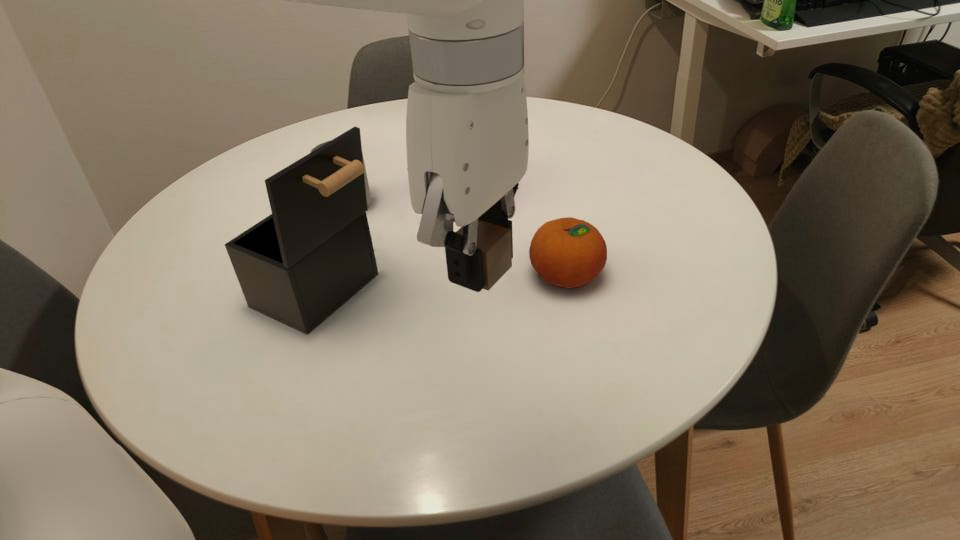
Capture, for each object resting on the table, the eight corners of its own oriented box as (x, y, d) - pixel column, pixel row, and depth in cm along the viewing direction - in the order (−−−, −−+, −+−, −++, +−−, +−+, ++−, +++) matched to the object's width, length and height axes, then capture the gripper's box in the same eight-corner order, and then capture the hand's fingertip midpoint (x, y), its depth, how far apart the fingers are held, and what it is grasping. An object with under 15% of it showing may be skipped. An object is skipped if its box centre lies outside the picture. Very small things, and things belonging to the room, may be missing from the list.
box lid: (264, 180, 67) (298, 195, 65) (354, 126, 77) (387, 138, 75) (283, 266, 76) (314, 282, 74) (363, 208, 85) (392, 221, 83)
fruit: (516, 285, 88) (515, 238, 83) (549, 246, 95) (549, 201, 90) (587, 308, 83) (590, 260, 78) (616, 265, 90) (620, 218, 85)
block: (488, 291, 51) (486, 253, 48) (450, 277, 52) (446, 239, 50) (512, 266, 53) (511, 229, 51) (474, 253, 55) (472, 217, 53)
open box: (248, 307, 88) (224, 244, 81) (321, 252, 97) (305, 191, 90) (307, 335, 82) (286, 270, 76) (378, 274, 92) (366, 212, 85)
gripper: (486, 12, 49) (495, 212, 60) (340, 85, 38) (383, 313, 49) (574, 24, 45) (565, 233, 57) (440, 107, 35) (463, 346, 46)
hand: (481, 268), depth 53 cm, fingers closed on block, 3 cm apart
